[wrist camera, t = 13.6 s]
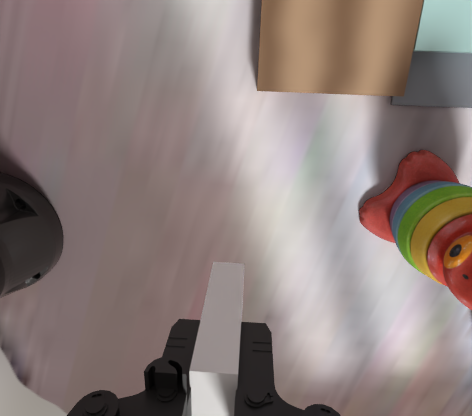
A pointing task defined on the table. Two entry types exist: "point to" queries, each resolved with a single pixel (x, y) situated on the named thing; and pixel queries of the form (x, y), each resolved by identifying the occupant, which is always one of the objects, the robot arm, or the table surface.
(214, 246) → the table surface
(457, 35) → the mint green block
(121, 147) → the table surface
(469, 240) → the stacking bear
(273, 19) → the tan flat square slab
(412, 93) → the mat
